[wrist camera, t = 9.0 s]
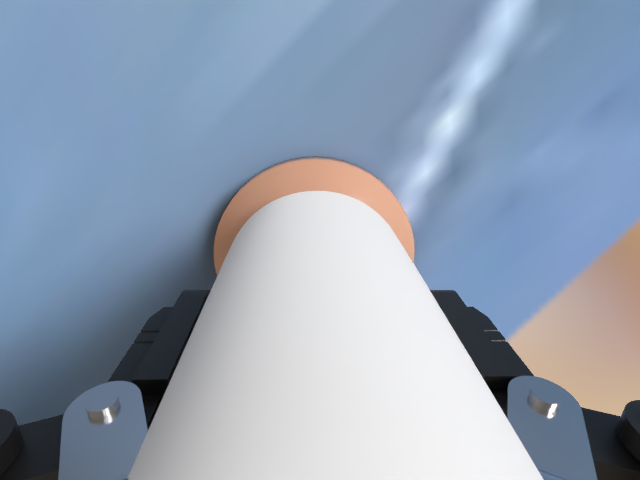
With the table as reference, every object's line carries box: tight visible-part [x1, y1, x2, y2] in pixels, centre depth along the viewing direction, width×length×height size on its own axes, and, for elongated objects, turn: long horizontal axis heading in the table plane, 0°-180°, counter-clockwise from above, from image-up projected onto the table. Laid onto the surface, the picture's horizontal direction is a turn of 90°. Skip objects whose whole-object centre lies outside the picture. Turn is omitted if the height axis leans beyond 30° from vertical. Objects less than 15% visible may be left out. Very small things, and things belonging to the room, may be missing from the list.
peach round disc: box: [214, 156, 415, 276], centre depth 15 cm, size 8×8×1 cm
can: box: [128, 191, 544, 480], centre depth 8 cm, size 6×6×12 cm
